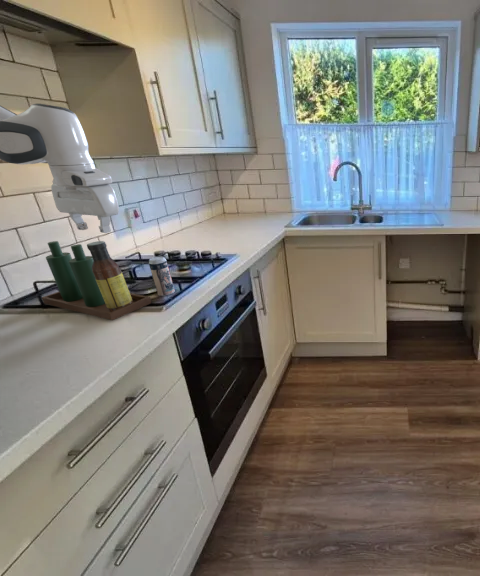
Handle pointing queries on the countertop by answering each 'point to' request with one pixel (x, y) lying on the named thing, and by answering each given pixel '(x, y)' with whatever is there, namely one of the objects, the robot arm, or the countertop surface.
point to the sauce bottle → (109, 277)
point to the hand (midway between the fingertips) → (94, 230)
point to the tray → (100, 310)
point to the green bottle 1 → (63, 273)
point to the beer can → (161, 276)
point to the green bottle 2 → (85, 277)
